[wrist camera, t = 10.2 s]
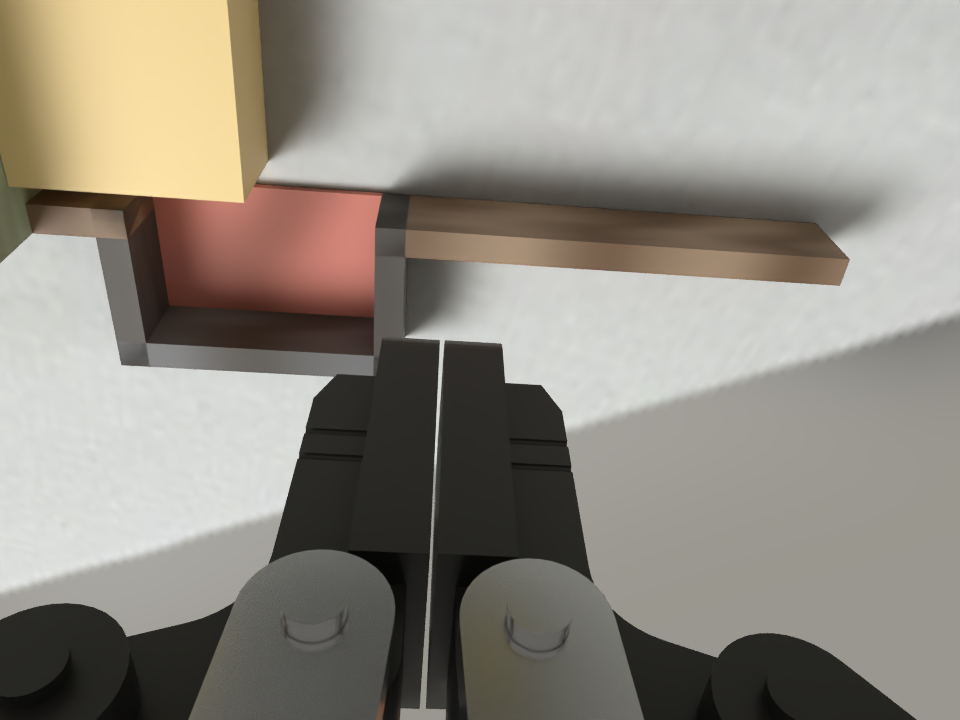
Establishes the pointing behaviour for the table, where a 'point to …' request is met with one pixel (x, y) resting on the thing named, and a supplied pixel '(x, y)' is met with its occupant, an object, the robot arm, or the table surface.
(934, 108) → the table surface
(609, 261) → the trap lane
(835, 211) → the table surface
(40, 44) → the block
